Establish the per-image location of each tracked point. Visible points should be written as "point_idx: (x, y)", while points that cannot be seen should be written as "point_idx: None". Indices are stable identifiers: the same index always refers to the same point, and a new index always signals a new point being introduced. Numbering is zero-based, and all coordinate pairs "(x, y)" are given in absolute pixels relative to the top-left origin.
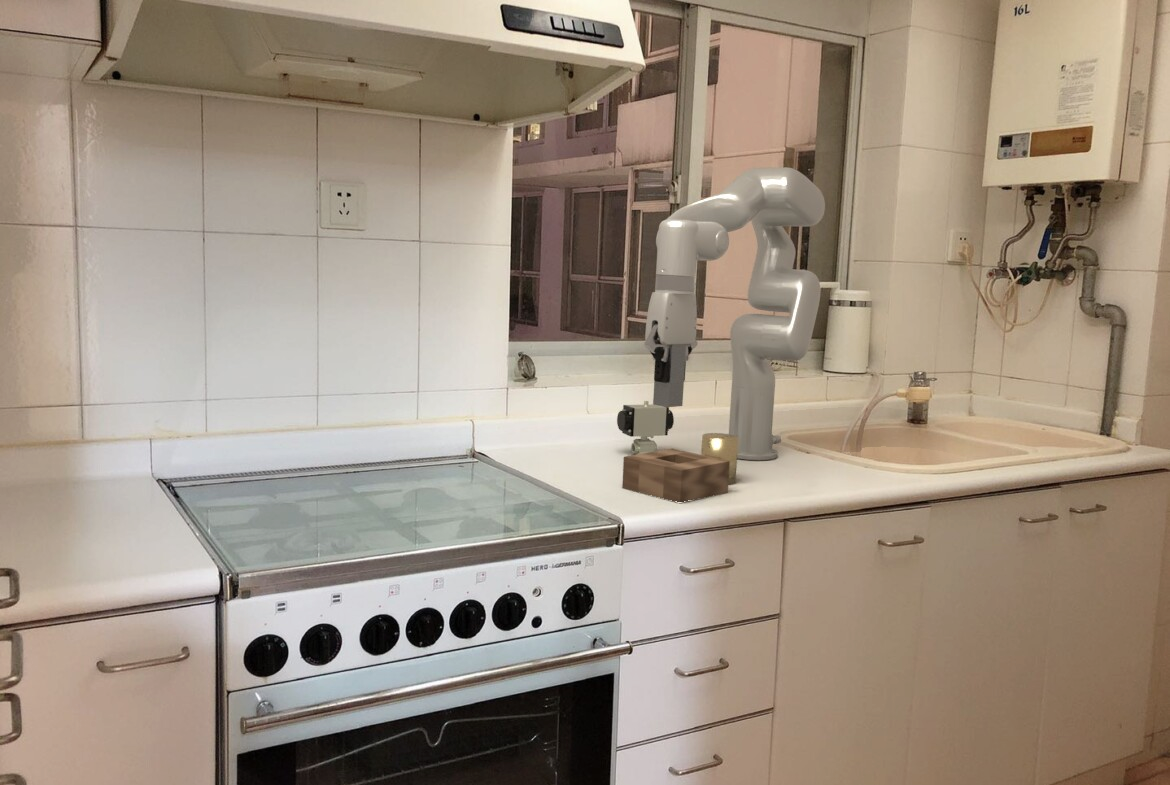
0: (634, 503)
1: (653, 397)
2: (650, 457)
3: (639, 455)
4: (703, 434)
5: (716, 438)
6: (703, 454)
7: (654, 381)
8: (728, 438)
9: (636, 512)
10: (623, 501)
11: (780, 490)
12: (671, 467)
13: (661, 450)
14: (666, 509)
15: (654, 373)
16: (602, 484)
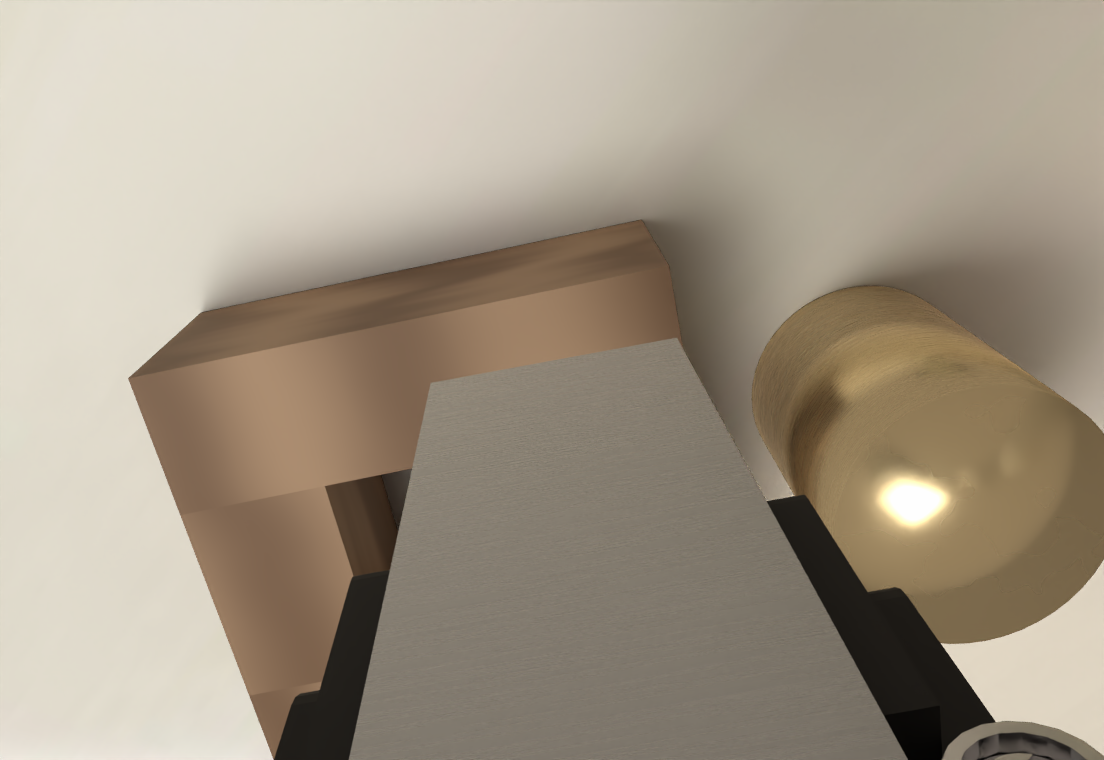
0: (104, 596)
1: (425, 413)
2: (308, 466)
3: (268, 383)
4: (912, 414)
5: (877, 575)
6: (802, 436)
7: (405, 512)
8: (963, 604)
9: (34, 720)
10: (66, 546)
11: (997, 665)
12: (274, 730)
13: (539, 294)
14: (203, 729)
15: (338, 636)
16: (127, 179)
